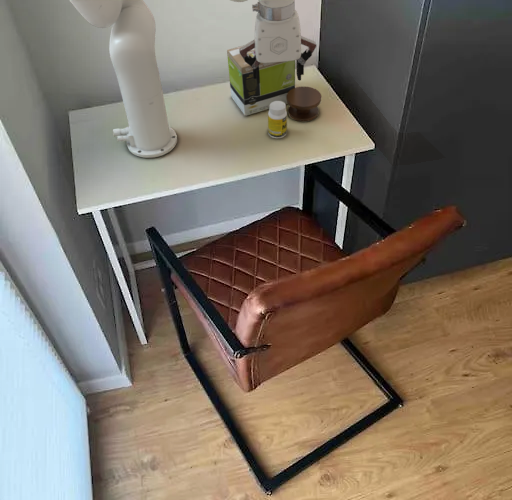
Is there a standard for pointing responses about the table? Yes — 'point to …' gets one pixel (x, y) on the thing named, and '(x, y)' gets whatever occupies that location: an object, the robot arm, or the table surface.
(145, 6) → the robot arm
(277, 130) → the supplement bottle
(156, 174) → the table surface
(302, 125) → the table surface
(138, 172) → the table surface
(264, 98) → the tea box
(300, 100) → the stand
